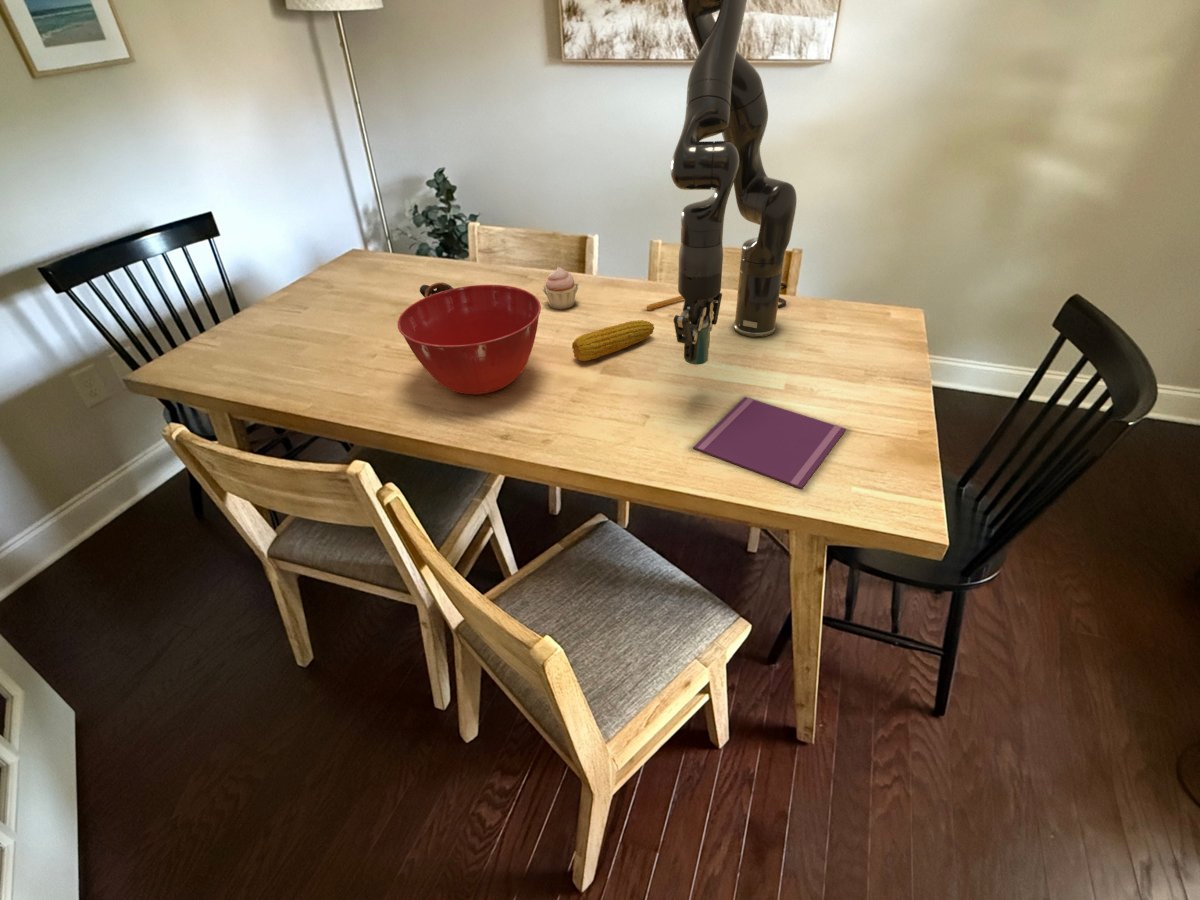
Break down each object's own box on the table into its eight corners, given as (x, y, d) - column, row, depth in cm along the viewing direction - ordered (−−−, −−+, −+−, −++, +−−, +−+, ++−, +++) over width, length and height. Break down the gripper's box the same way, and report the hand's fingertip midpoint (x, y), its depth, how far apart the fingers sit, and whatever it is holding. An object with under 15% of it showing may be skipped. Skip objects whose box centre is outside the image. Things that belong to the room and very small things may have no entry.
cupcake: (562, 294, 171) (559, 257, 165) (587, 303, 166) (585, 265, 160) (536, 305, 166) (532, 268, 160) (560, 315, 160) (557, 276, 155)
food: (584, 368, 138) (582, 343, 134) (569, 359, 142) (567, 334, 138) (659, 339, 147) (659, 315, 144) (643, 331, 151) (643, 307, 148)
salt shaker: (692, 351, 124) (693, 313, 120) (712, 357, 122) (714, 318, 117) (680, 361, 122) (681, 322, 117) (700, 367, 119) (702, 327, 115)
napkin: (744, 398, 126) (744, 396, 125) (845, 430, 115) (846, 428, 115) (693, 448, 113) (693, 446, 113) (801, 489, 103) (801, 487, 103)
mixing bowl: (428, 429, 121) (411, 357, 112) (403, 365, 143) (386, 300, 133) (567, 393, 130) (561, 323, 121) (523, 337, 151) (515, 274, 142)
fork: (649, 306, 159) (713, 286, 166) (645, 302, 160) (709, 282, 167) (648, 314, 161) (712, 294, 168) (644, 310, 162) (707, 290, 169)
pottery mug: (470, 305, 169) (463, 286, 161) (451, 332, 166) (443, 314, 158) (432, 288, 171) (424, 268, 164) (412, 315, 168) (403, 296, 160)
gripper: (701, 250, 117) (697, 335, 128) (660, 276, 108) (659, 365, 119) (738, 257, 114) (731, 343, 124) (699, 285, 105) (695, 375, 115)
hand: (696, 353), depth 121 cm, fingers closed on salt shaker, 4 cm apart
